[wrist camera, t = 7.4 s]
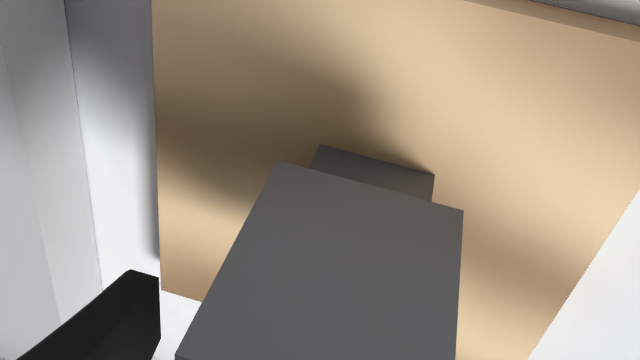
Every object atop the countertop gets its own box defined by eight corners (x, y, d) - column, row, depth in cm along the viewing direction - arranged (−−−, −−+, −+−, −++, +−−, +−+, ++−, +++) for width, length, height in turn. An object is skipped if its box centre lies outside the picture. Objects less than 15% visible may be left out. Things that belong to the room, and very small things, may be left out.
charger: (414, 285, 17) (373, 573, 11) (283, 248, 17) (174, 506, 11) (467, 147, 13) (450, 446, 8) (306, 105, 14) (171, 360, 8)
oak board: (504, 367, 19) (504, 392, 18) (173, 269, 20) (161, 289, 20) (707, 42, 12) (723, 62, 11) (169, -85, 13) (148, -75, 12)
